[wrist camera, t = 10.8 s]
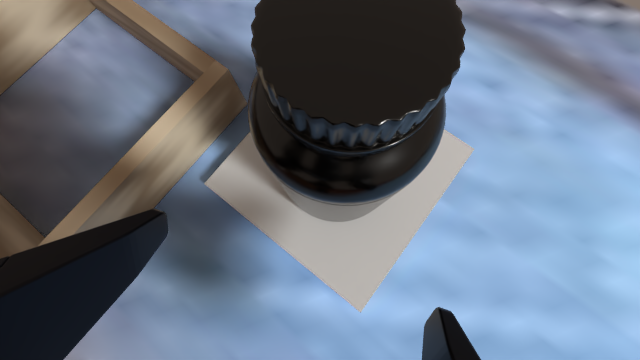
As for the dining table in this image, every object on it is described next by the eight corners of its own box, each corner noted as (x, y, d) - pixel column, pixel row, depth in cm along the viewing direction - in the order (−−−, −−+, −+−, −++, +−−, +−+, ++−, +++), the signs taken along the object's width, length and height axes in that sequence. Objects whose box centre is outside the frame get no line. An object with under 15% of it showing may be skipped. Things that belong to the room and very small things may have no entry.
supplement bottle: (267, 206, 18) (146, 121, 6) (301, 107, 19) (257, -118, 7) (378, 238, 17) (488, 216, 5) (404, 133, 18) (534, -67, 7)
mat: (358, 308, 17) (360, 312, 16) (210, 187, 19) (204, 183, 18) (467, 154, 19) (474, 149, 18) (322, 58, 21) (322, 49, 20)
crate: (75, 294, 18) (4, 307, 14) (-72, 144, 20) (-167, 120, 16) (247, 103, 20) (228, 69, 16) (97, -7, 23) (50, -59, 19)
